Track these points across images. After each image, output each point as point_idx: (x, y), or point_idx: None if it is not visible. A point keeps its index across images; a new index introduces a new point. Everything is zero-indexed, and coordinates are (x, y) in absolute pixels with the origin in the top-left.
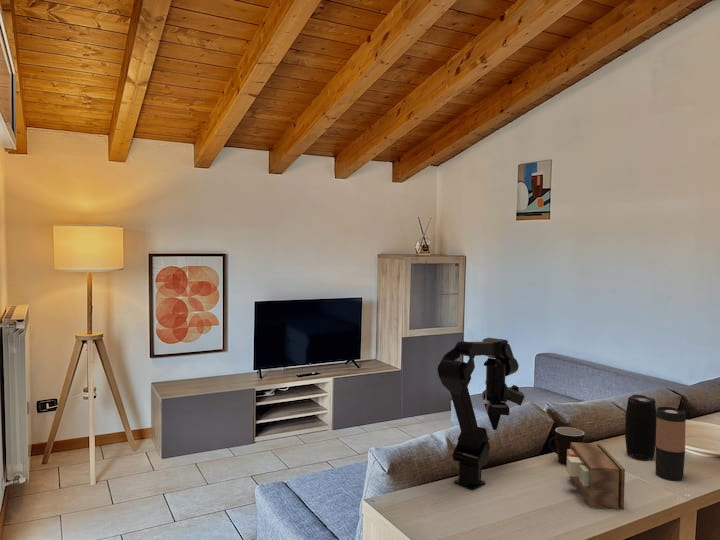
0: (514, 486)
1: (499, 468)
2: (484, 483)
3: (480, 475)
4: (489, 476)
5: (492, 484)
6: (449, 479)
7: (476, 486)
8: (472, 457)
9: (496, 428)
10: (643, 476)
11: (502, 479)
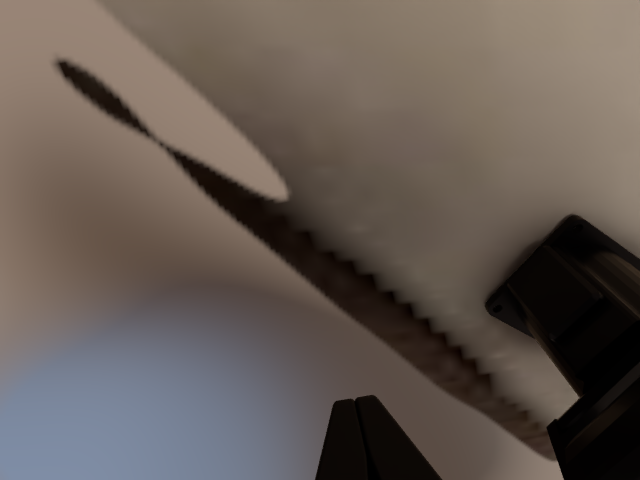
0: (610, 28)
1: (302, 142)
2: (585, 220)
3: (581, 262)
4: (456, 198)
5: (574, 174)
6: (515, 366)
7: (634, 256)
8: (621, 381)
9: (385, 412)
10: None
11: (495, 116)
